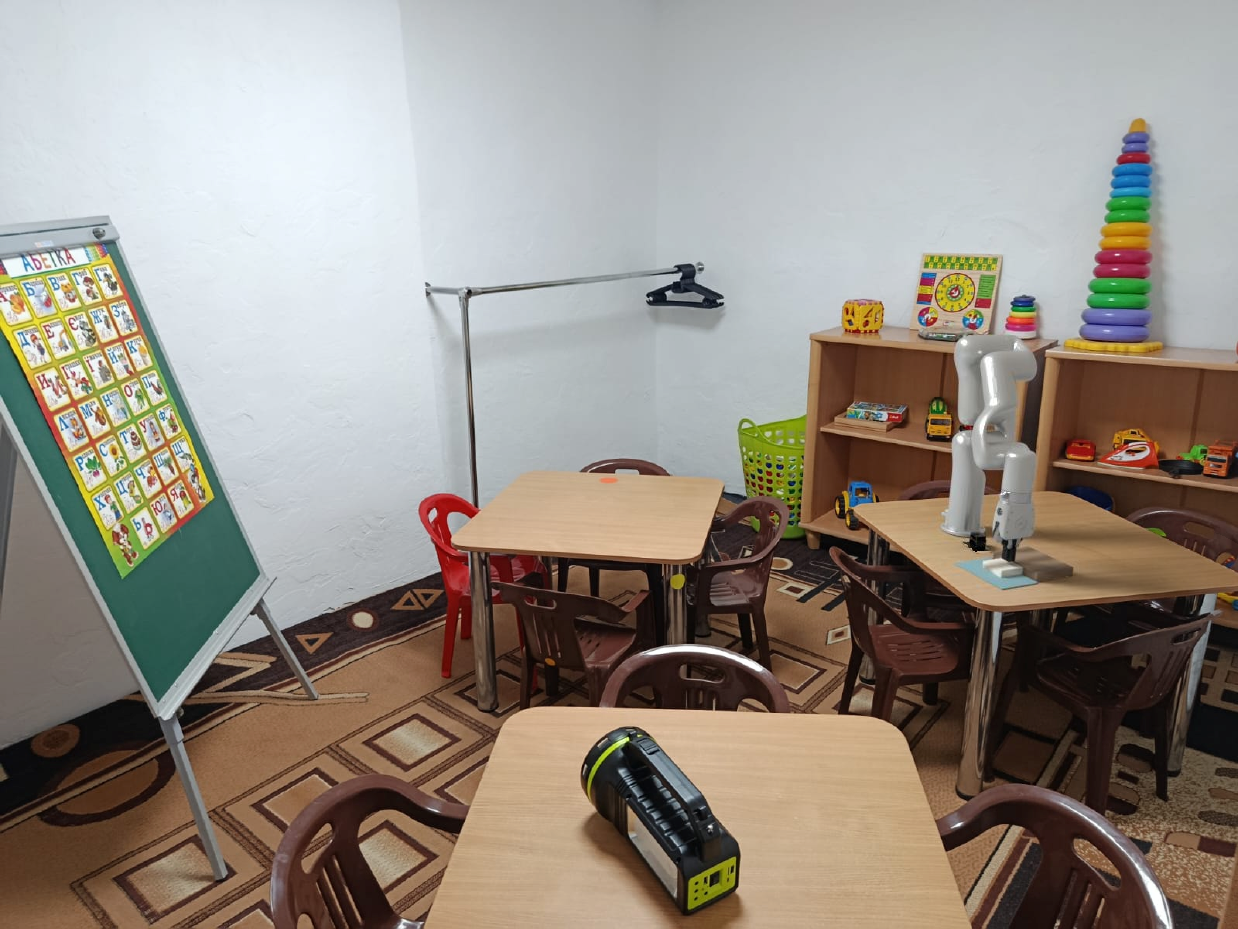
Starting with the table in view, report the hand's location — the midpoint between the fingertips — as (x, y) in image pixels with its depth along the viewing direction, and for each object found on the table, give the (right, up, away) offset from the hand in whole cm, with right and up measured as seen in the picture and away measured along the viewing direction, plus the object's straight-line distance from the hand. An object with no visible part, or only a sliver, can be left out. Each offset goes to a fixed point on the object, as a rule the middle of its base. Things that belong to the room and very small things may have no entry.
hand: (1008, 560), depth 224 cm
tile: (-1, -3, +1) cm, 3 cm away
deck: (+8, -3, +3) cm, 9 cm away
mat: (-4, -4, 0) cm, 5 cm away
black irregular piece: (0, +1, +18) cm, 18 cm away
